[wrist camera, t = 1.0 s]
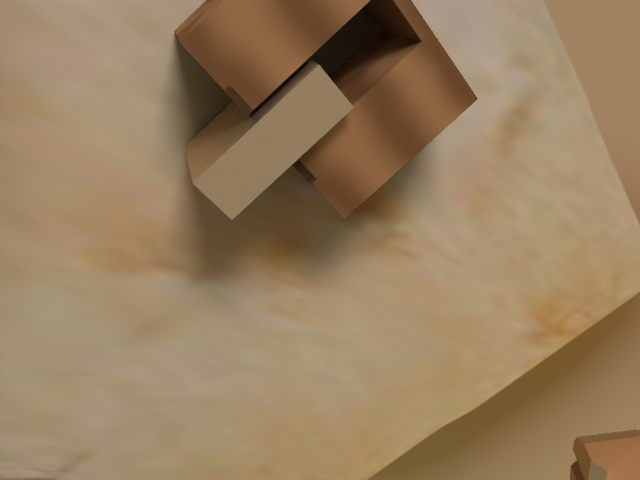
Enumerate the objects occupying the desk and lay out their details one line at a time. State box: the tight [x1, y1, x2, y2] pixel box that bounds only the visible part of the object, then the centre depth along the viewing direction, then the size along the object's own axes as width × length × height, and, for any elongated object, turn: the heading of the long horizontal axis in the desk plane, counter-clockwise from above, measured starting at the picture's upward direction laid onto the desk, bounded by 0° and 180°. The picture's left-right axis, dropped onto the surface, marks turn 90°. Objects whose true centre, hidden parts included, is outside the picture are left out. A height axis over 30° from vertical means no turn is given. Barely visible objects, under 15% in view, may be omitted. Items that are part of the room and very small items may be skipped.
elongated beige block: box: [185, 59, 354, 220], centre depth 47 cm, size 12×4×10 cm, turn 130°
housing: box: [175, 0, 478, 219], centre depth 47 cm, size 14×18×9 cm
